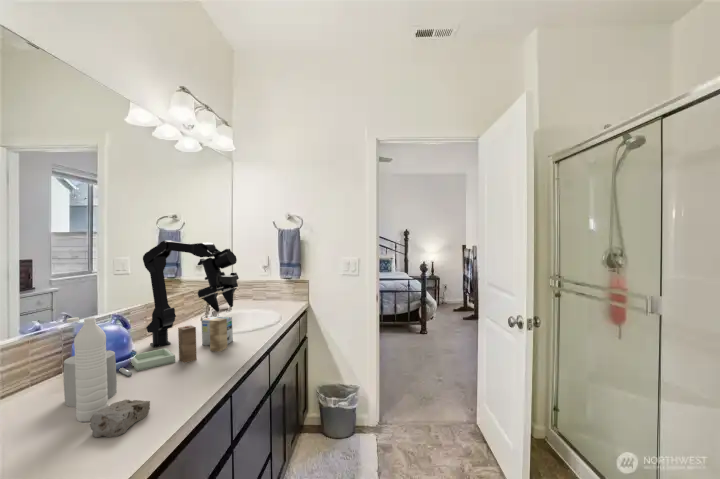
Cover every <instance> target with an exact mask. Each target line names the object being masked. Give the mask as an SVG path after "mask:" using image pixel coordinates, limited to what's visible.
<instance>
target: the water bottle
mask: <svg viewBox="0 0 720 479" xmlns="http://www.w3.org/2000/svg"><path fill="white" fill-rule="evenodd" d="M78 322H80V317H77V316H76V317H70V318H67V319H66V323H67V324H73V323H78ZM82 323H83V325H82V326H81V328H80V330H78V332H77V334H76V335H75V336H74V341H73V343H74V346H73V347H74V356H75V365H76V366H75V368H76V369H75V377H76V381H75V382H76V401H77V402H76V407H75V408H76V410H75V411H76V413H75V414H76V415H75V416H76V421H78V422H82V423H83V422H85V423H86V422H90V419H91V417H92V415H94V414H95V413H97V412H98V411H100V410H102V409H104V408H106V407H108V406H109V399H108V395H107V393H108V389H107V373H106V372H107V364H106V362H107V361H106V350H107V344H106V343H107V336H106V335H107V334H106V332H105V331H104V330H103V328H101V327H100V325H98V324H97V320H96V317H87V318H84V319H83V322H82Z"/></svg>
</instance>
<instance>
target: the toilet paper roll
mask: <svg viewBox="0 0 720 479" xmlns="http://www.w3.org/2000/svg"><path fill="white" fill-rule="evenodd" d="M106 361H107V362H106V364H107V372H106V373H107V389H108V393H107V395H108V400H109V399H112V398H113V397H114V396H115V395H116V394H117V388H118V387H117V386H118V384H117V382H118V381H117V379H118V378H117V363H116V362H117V361H116V352H115V351H114V350H107V349H106ZM75 366H76V365H75V355H73V356H70V357H68V358H66V359H65V360H64V361H63V393H64V405H65V406H67V407H69V408H70V407H72V408H76V402H77V401H76V382H75V381H76V377H75V369H76V368H75Z"/></svg>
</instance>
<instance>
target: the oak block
mask: <svg viewBox="0 0 720 479" xmlns="http://www.w3.org/2000/svg"><path fill="white" fill-rule="evenodd" d="M209 346H210V347H209V348H210V349H209V350H210V352H222V351H224V350H227V349H228V344H227V319H226V318H216V319H213V320H210V345H209Z"/></svg>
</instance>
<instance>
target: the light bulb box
mask: <svg viewBox="0 0 720 479" xmlns="http://www.w3.org/2000/svg"><path fill="white" fill-rule="evenodd" d="M216 318H226V319H227V345H228V344H230V343H232V342H233V340H234V335H233V332H234V331H233V316H208V317H206V318H202V319H201V342H202V343H201V345H202V346H210V320H213V319H216Z"/></svg>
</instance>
